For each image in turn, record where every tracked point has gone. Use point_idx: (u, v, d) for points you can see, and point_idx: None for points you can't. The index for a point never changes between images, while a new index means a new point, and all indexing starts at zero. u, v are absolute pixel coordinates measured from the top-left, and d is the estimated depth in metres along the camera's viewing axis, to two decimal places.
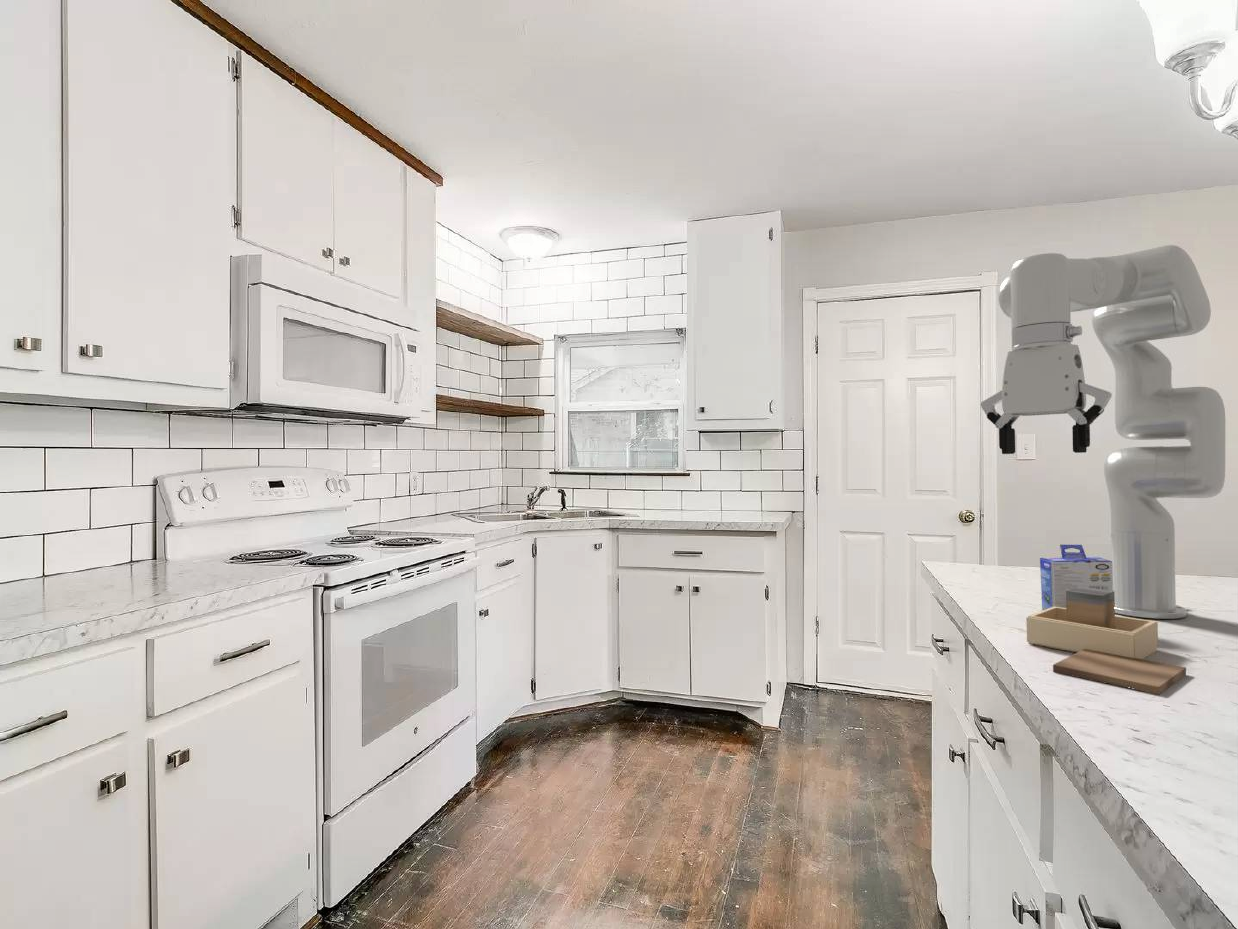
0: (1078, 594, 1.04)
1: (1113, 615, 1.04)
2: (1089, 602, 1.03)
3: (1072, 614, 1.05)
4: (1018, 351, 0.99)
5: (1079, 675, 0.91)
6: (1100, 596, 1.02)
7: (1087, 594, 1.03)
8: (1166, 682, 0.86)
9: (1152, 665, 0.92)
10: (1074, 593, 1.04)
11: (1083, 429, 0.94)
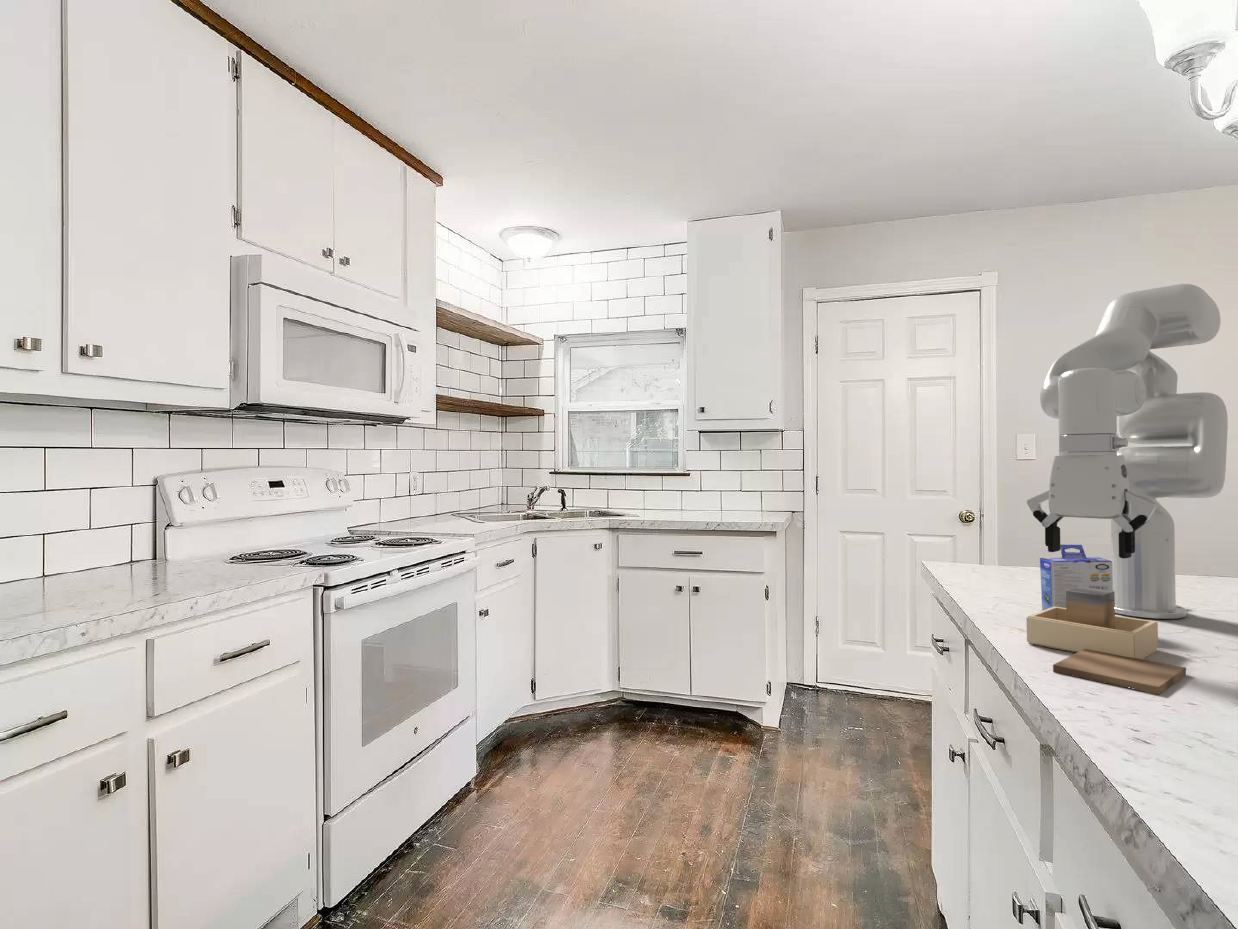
0: (1078, 594, 1.04)
1: (1113, 615, 1.04)
2: (1089, 602, 1.03)
3: (1072, 614, 1.05)
4: (1065, 457, 1.05)
5: (1079, 675, 0.91)
6: (1100, 596, 1.02)
7: (1087, 594, 1.03)
8: (1166, 682, 0.86)
9: (1152, 665, 0.92)
10: (1074, 593, 1.04)
11: (1129, 536, 1.00)
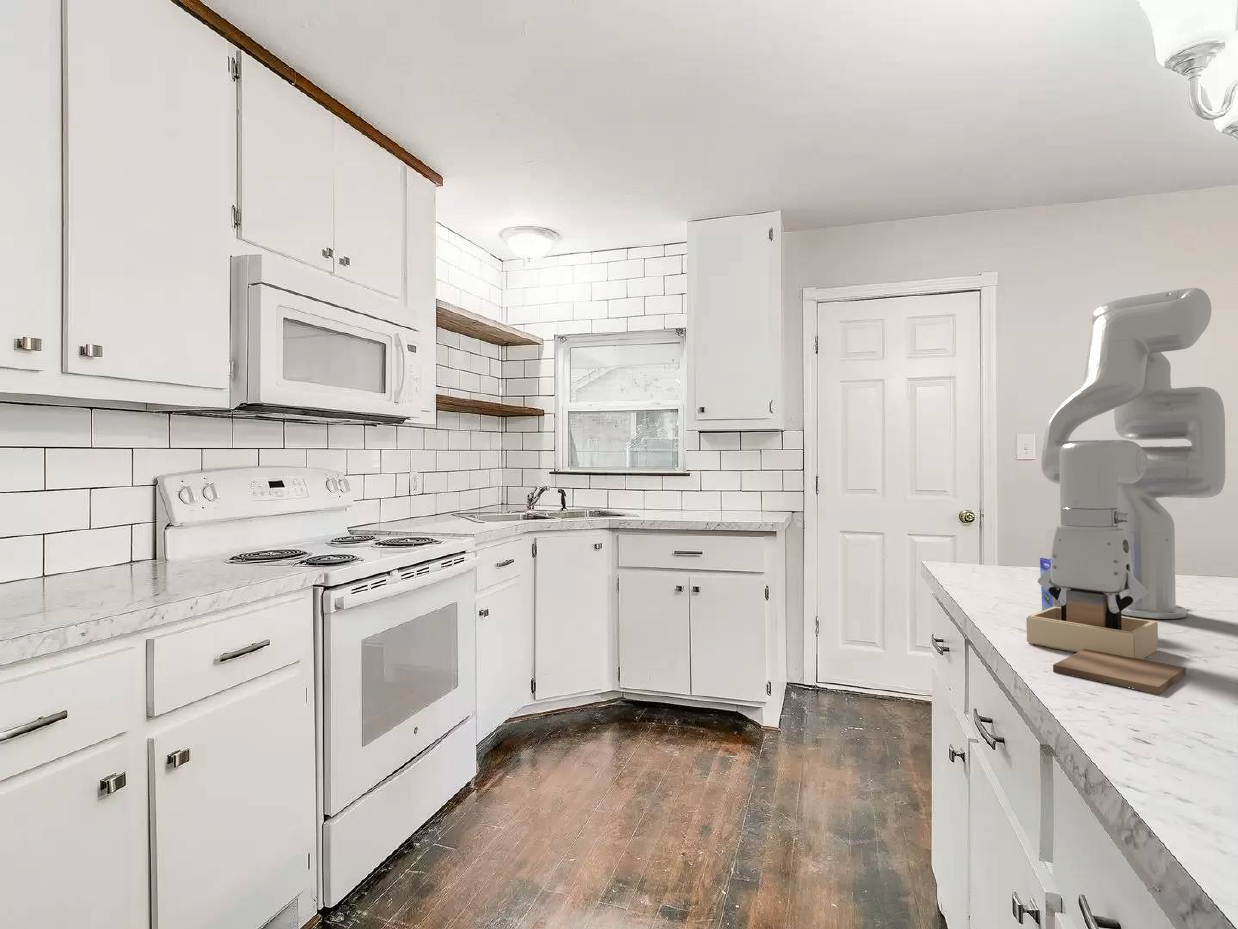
0: (1078, 593, 1.04)
1: None
2: (1089, 602, 1.03)
3: (1072, 614, 1.05)
4: (1067, 529, 1.05)
5: (1079, 675, 0.91)
6: (1100, 596, 1.02)
7: (1087, 594, 1.03)
8: (1166, 682, 0.86)
9: (1152, 665, 0.92)
10: (1074, 593, 1.04)
11: (1115, 617, 1.02)
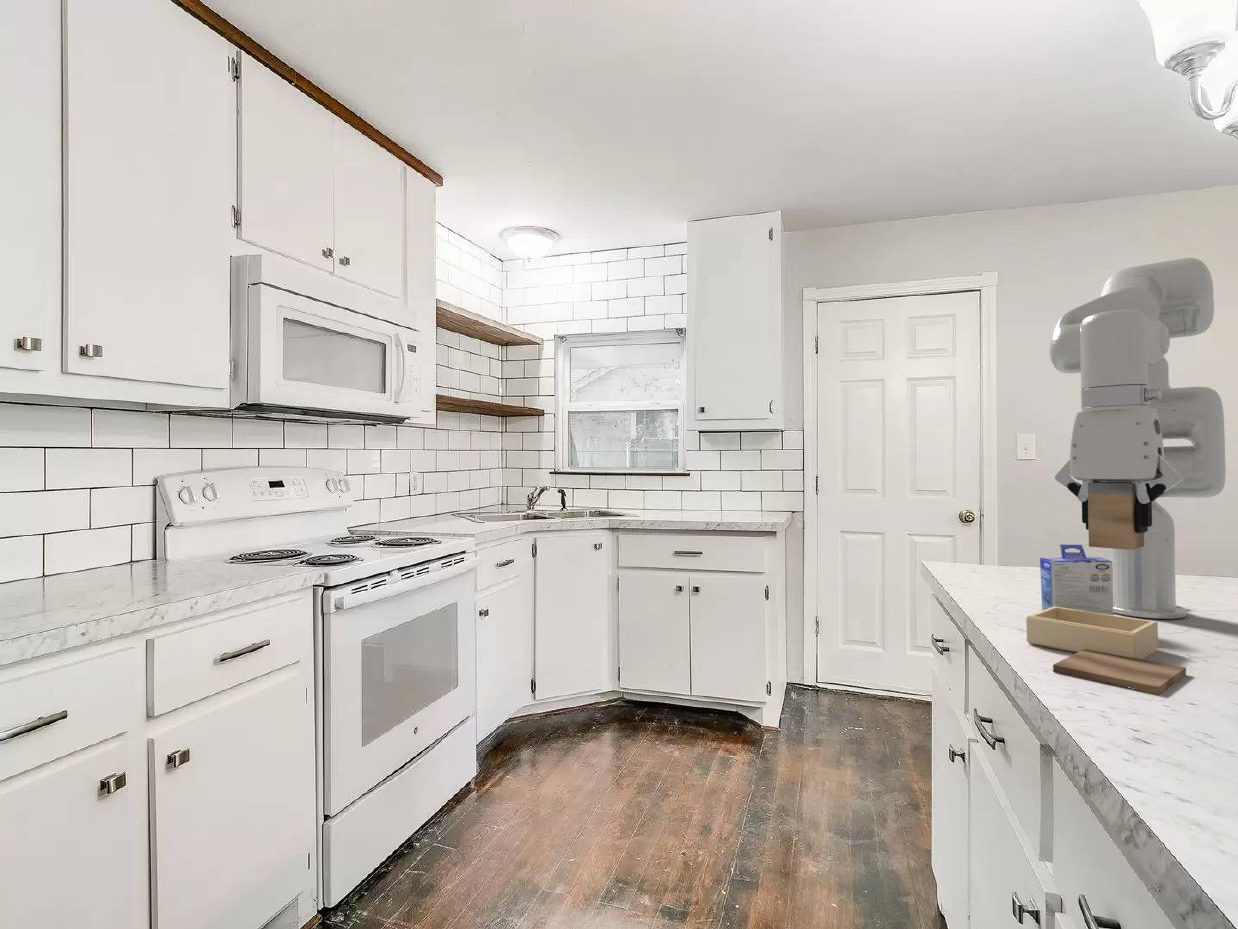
0: (1102, 484, 0.91)
1: None
2: (1115, 493, 0.90)
3: (1095, 508, 0.92)
4: (1089, 413, 0.93)
5: (1079, 675, 0.91)
6: (1128, 484, 0.89)
7: (1112, 484, 0.90)
8: (1166, 682, 0.86)
9: (1152, 665, 0.92)
10: (1097, 484, 0.92)
11: (1145, 508, 0.89)
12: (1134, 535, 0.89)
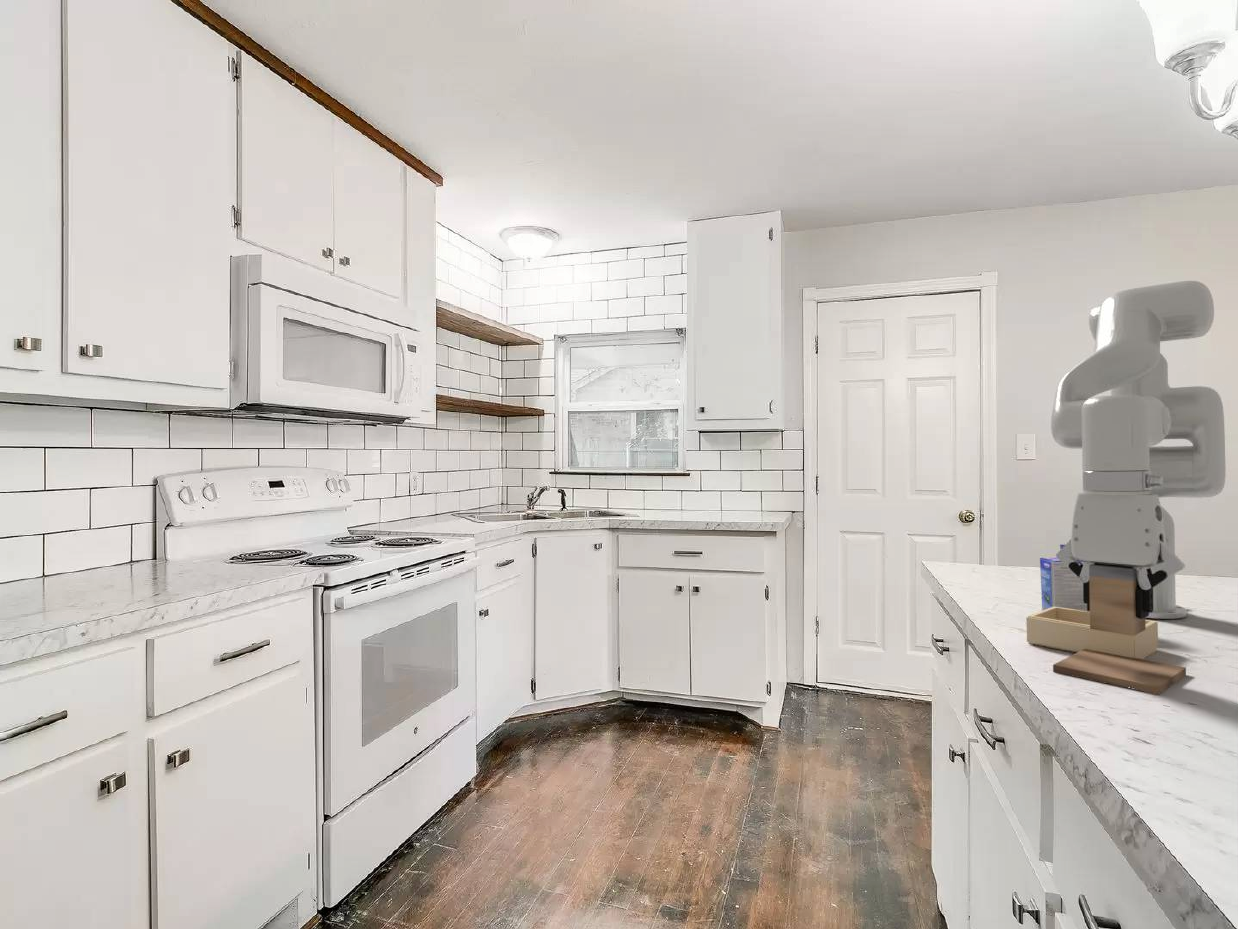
0: (1103, 568, 0.91)
1: None
2: (1116, 577, 0.90)
3: (1097, 591, 0.92)
4: (1091, 496, 0.93)
5: (1079, 675, 0.91)
6: (1129, 570, 0.89)
7: (1114, 568, 0.90)
8: (1166, 682, 0.86)
9: (1152, 665, 0.92)
10: (1099, 567, 0.92)
11: (1147, 594, 0.89)
12: (1135, 620, 0.89)
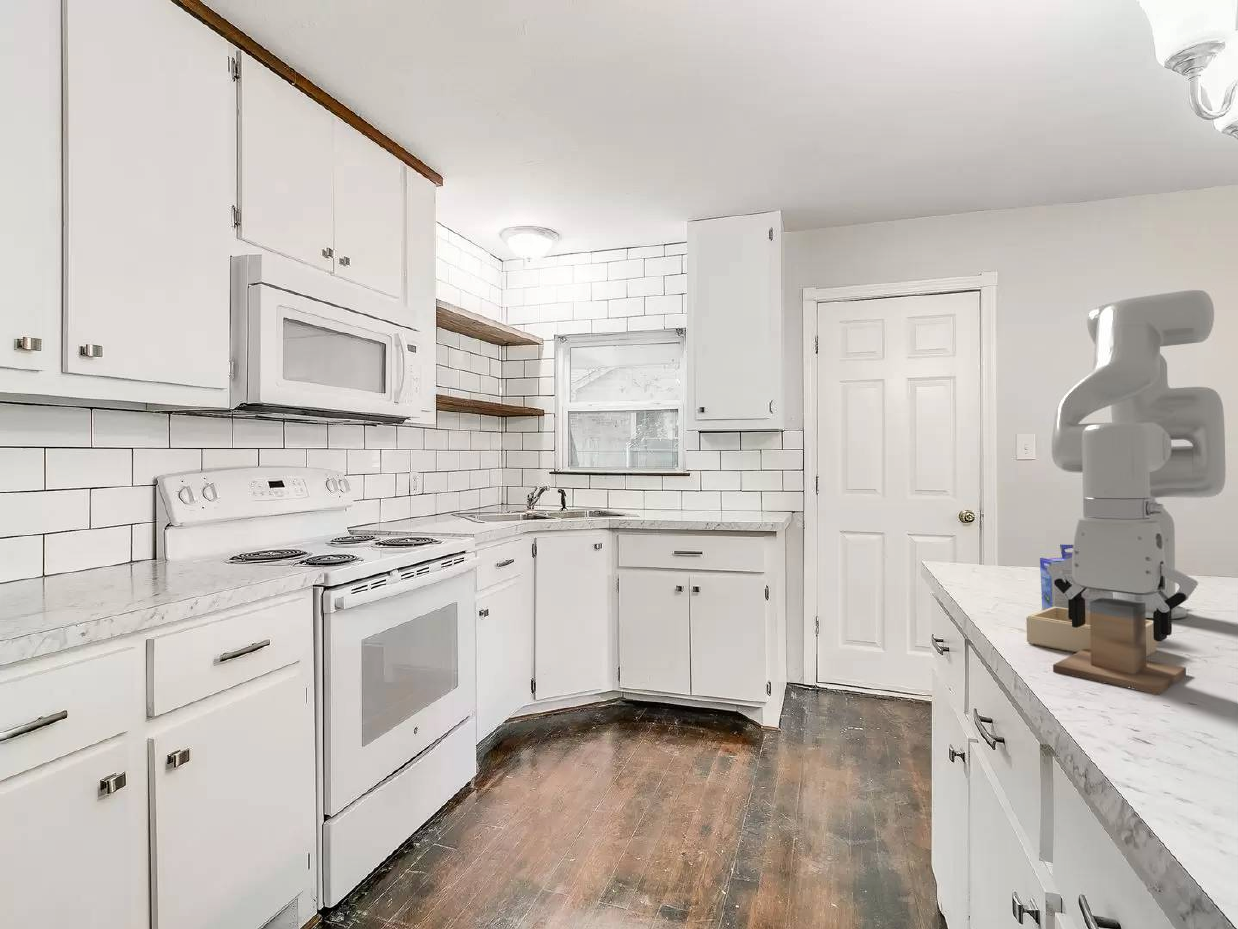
0: (1104, 605, 0.92)
1: (1144, 630, 0.92)
2: (1117, 615, 0.91)
3: (1097, 628, 0.92)
4: (1091, 522, 0.93)
5: (1079, 675, 0.91)
6: (1130, 608, 0.89)
7: (1114, 606, 0.91)
8: (1166, 682, 0.86)
9: (1152, 665, 0.92)
10: (1099, 604, 0.92)
11: (1165, 617, 0.87)
12: (1136, 658, 0.90)
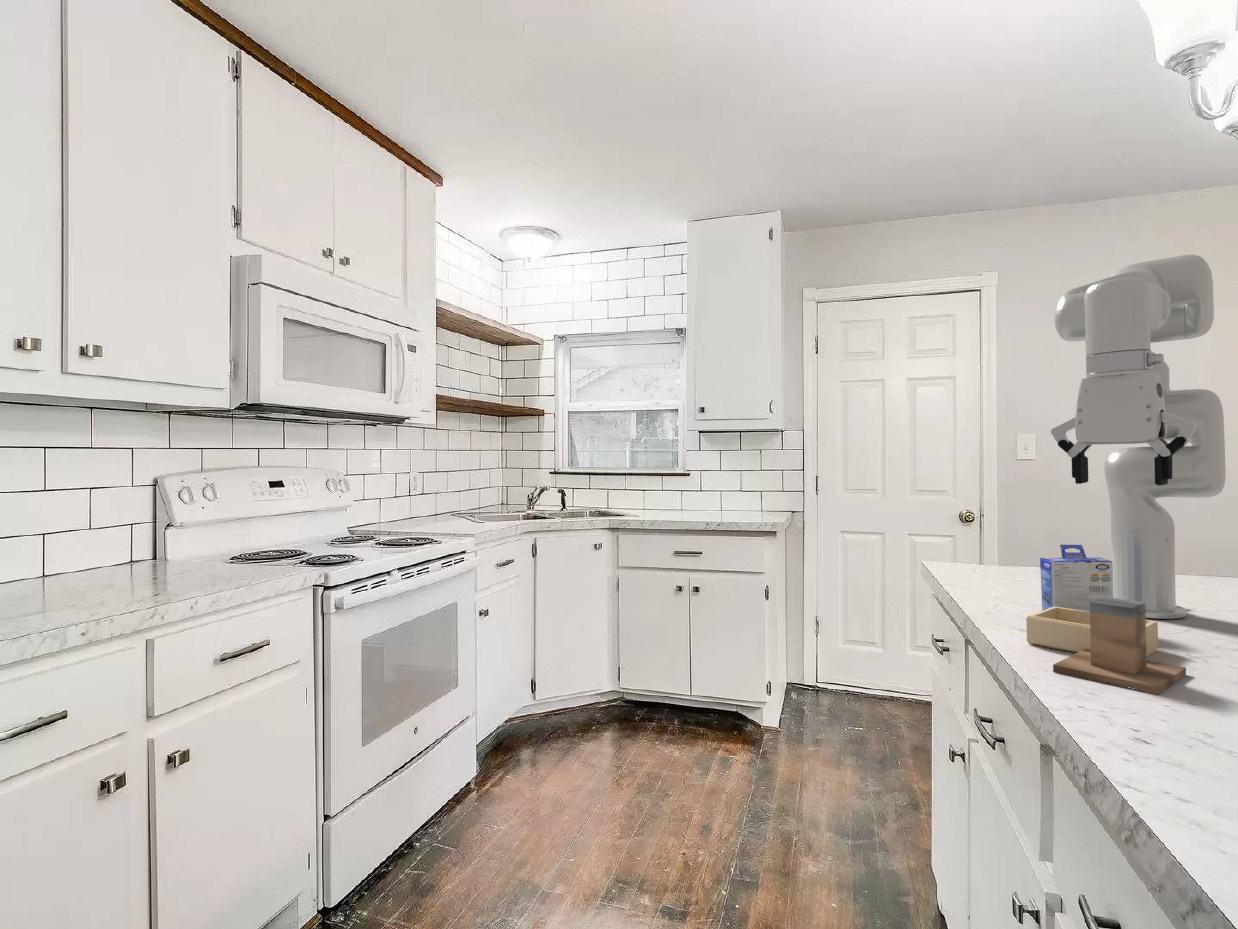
0: (1104, 605, 0.92)
1: (1144, 630, 0.92)
2: (1117, 615, 0.91)
3: (1097, 628, 0.92)
4: (1094, 379, 0.96)
5: (1079, 675, 0.91)
6: (1130, 608, 0.89)
7: (1114, 606, 0.91)
8: (1166, 682, 0.86)
9: (1152, 665, 0.92)
10: (1099, 604, 0.92)
11: (1166, 461, 0.91)
12: (1136, 658, 0.90)
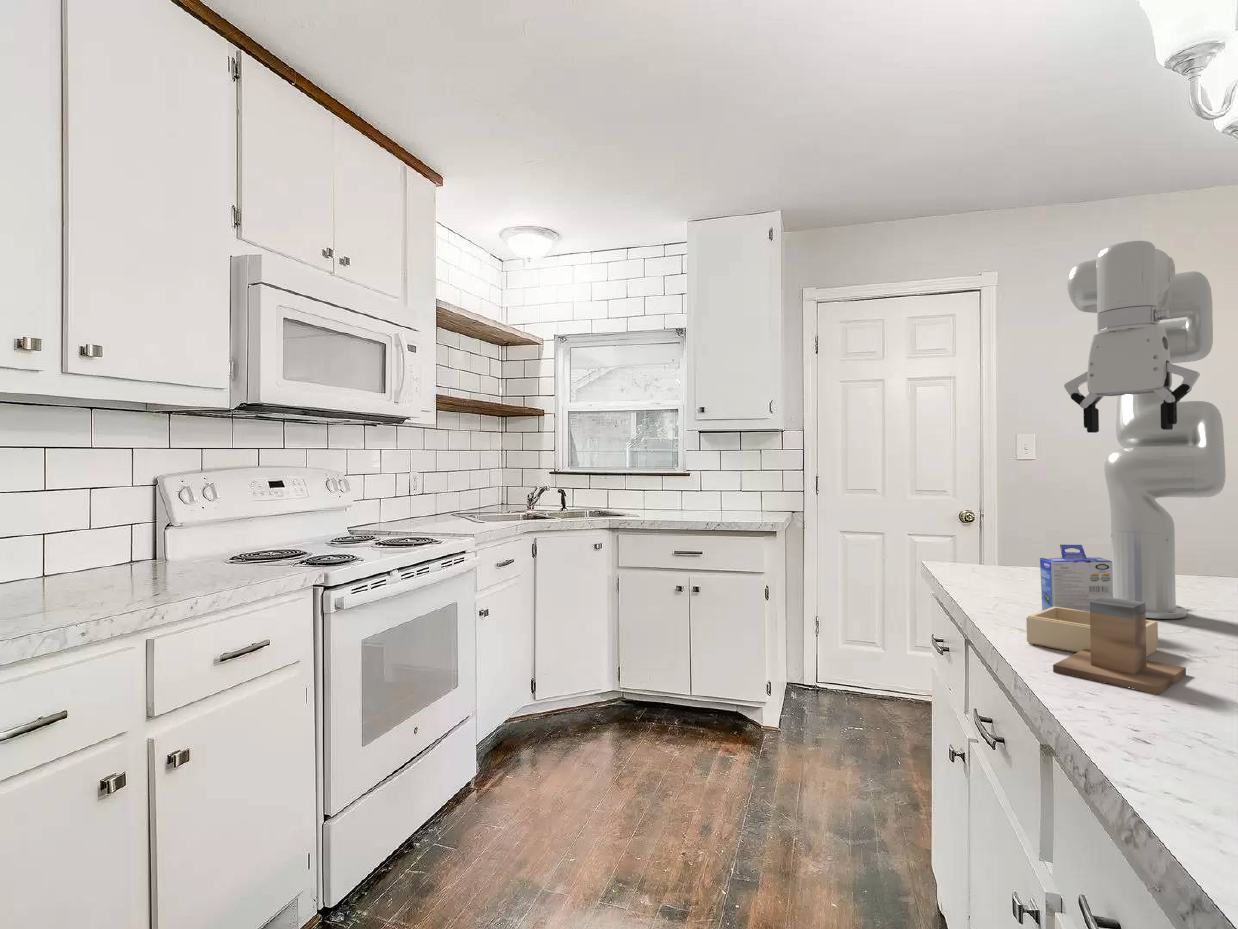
0: (1104, 605, 0.92)
1: (1144, 630, 0.92)
2: (1117, 615, 0.91)
3: (1097, 628, 0.92)
4: (1105, 334, 1.05)
5: (1079, 675, 0.91)
6: (1130, 608, 0.89)
7: (1114, 606, 0.91)
8: (1166, 682, 0.86)
9: (1152, 665, 0.92)
10: (1099, 604, 0.92)
11: (1171, 407, 0.99)
12: (1136, 658, 0.90)
